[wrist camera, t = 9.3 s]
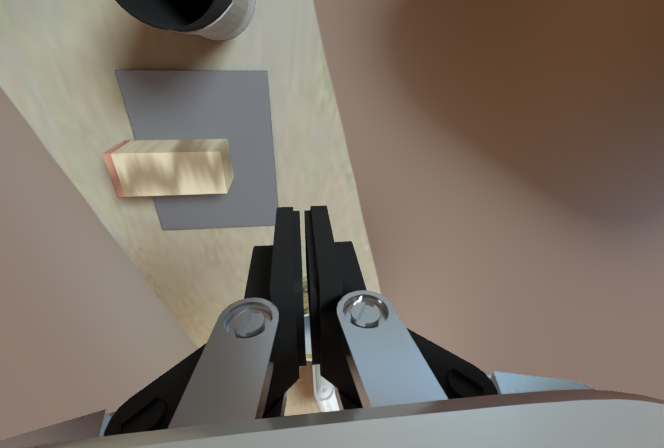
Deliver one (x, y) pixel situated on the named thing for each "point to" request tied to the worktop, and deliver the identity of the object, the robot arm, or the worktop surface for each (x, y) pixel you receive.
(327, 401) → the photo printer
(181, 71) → the rubber mat
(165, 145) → the maple block
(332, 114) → the worktop surface
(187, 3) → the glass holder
